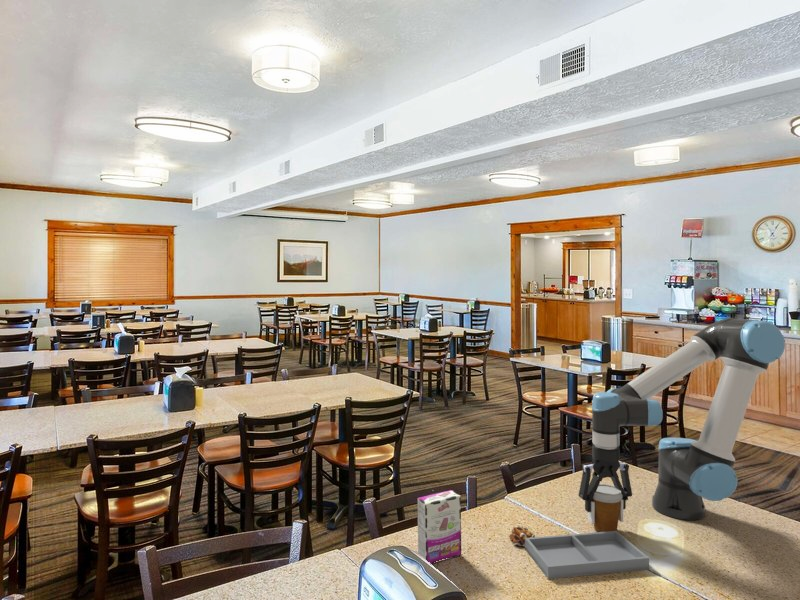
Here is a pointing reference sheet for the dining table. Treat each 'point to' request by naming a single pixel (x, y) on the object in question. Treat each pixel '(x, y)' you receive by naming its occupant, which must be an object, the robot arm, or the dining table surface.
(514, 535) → the brown lumpy cluster
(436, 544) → the candy bar box
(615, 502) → the disposable coffee cup
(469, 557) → the dining table surface
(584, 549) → the gray divided tray
